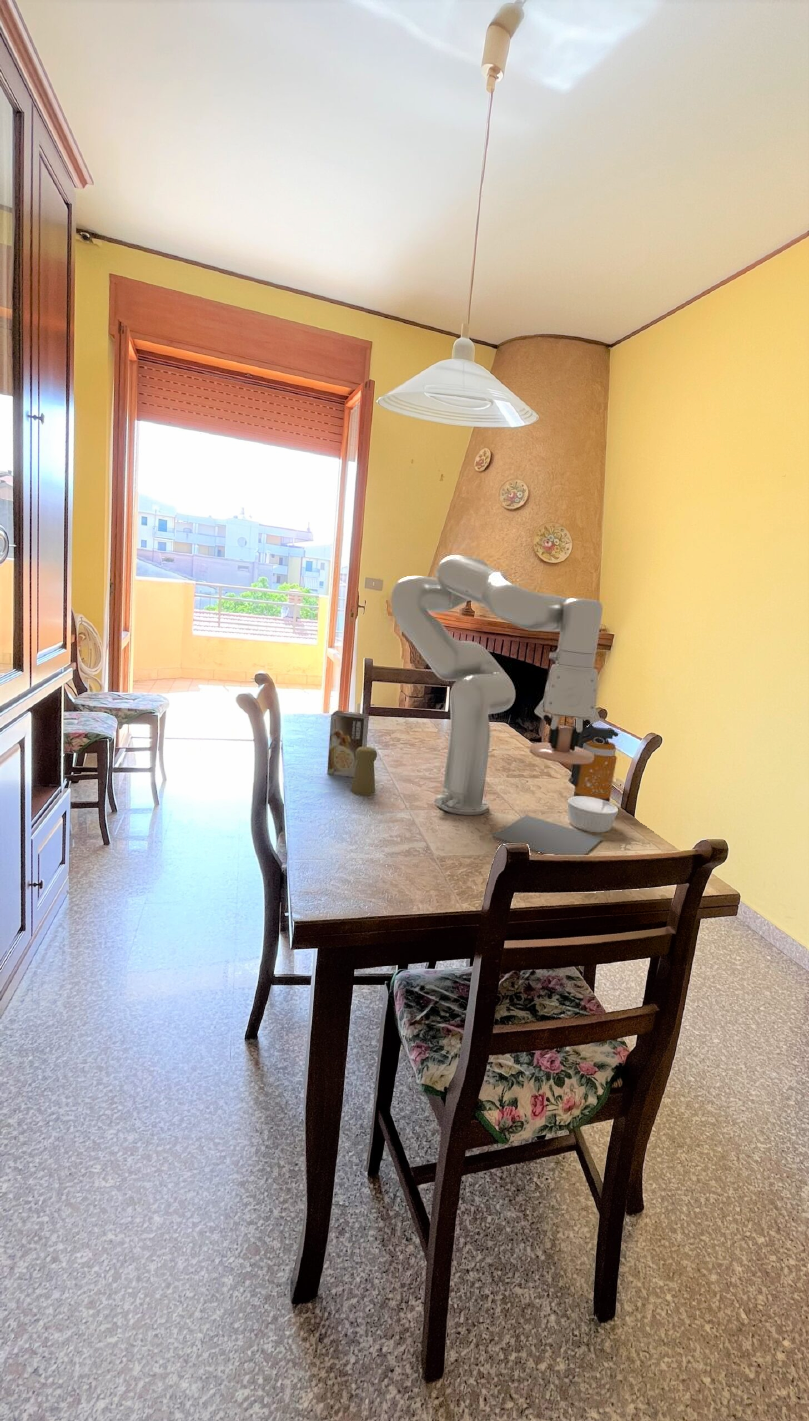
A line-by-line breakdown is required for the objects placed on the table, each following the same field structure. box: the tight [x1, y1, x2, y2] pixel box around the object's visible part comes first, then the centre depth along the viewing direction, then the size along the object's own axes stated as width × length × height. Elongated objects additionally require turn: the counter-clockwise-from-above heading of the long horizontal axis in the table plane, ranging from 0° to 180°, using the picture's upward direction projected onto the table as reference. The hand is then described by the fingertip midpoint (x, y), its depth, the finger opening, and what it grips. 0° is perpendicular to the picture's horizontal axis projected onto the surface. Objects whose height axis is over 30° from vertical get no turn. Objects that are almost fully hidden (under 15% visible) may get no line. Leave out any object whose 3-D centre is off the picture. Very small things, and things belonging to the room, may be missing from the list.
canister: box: [567, 724, 619, 802], centre depth 161 cm, size 9×11×20 cm
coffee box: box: [326, 710, 370, 778], centre depth 164 cm, size 9×6×16 cm
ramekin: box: [566, 795, 619, 834], centre depth 145 cm, size 11×11×5 cm
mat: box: [491, 814, 604, 856], centre depth 134 cm, size 18×18×1 cm
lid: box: [529, 724, 594, 765], centre depth 130 cm, size 13×13×6 cm
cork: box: [350, 746, 378, 796], centre depth 152 cm, size 6×6×11 cm
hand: (562, 747), depth 130 cm, fingers closed on lid, 3 cm apart
